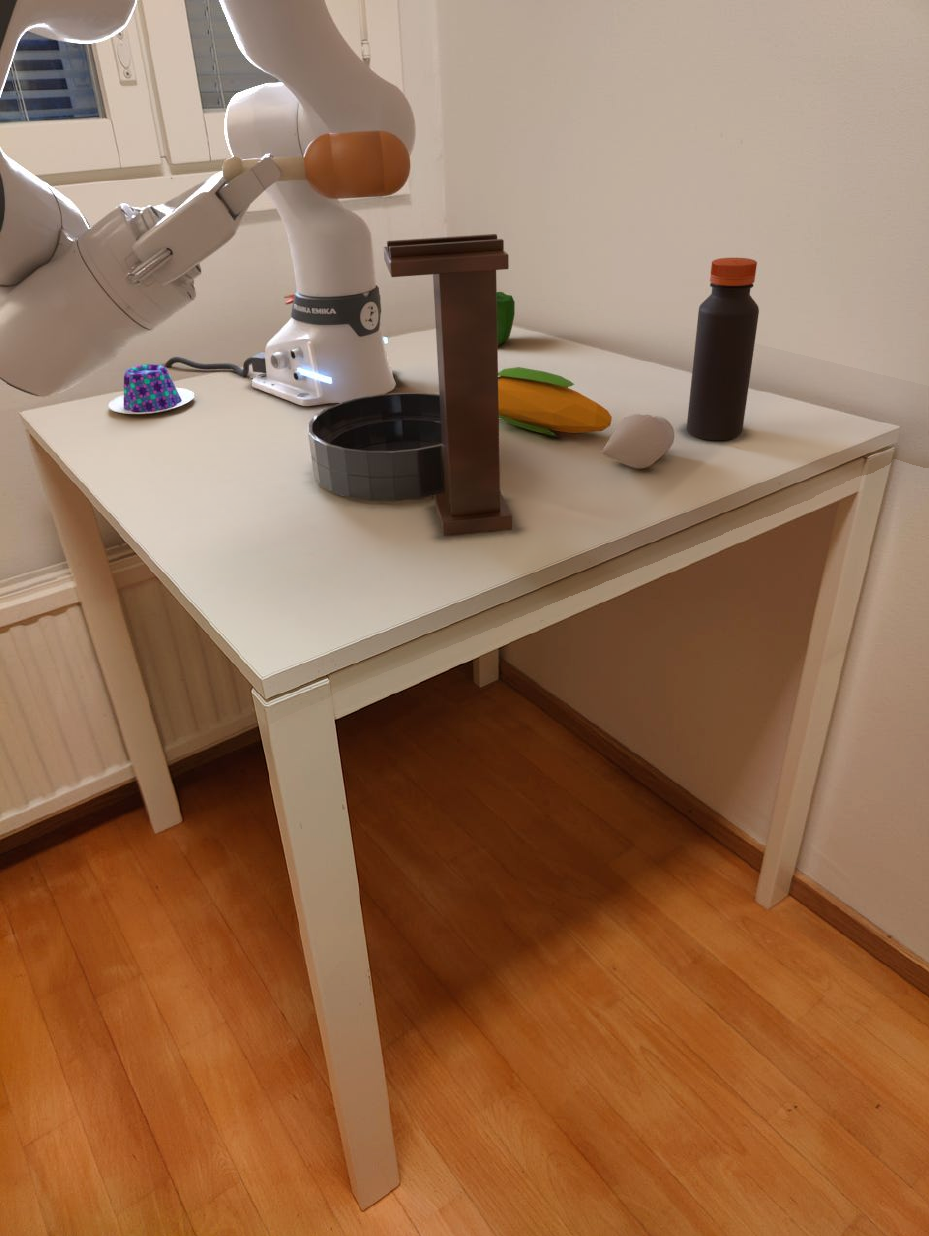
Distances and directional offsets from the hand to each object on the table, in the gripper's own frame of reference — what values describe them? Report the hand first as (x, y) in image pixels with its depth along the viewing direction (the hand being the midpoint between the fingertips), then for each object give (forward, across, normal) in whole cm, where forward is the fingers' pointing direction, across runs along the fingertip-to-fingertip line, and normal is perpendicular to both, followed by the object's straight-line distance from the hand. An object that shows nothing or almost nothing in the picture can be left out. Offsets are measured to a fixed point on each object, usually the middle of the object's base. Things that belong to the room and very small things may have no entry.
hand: (277, 163), depth 70 cm
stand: (-5, 0, +36) cm, 36 cm away
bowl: (-9, +15, +33) cm, 38 cm away
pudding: (-38, +48, +17) cm, 64 cm away
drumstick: (+1, 0, +4) cm, 4 cm away
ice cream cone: (+14, +9, +46) cm, 49 cm away
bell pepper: (+8, +67, +43) cm, 80 cm away
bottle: (+25, +18, +53) cm, 61 cm away
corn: (+8, +23, +43) cm, 50 cm away
